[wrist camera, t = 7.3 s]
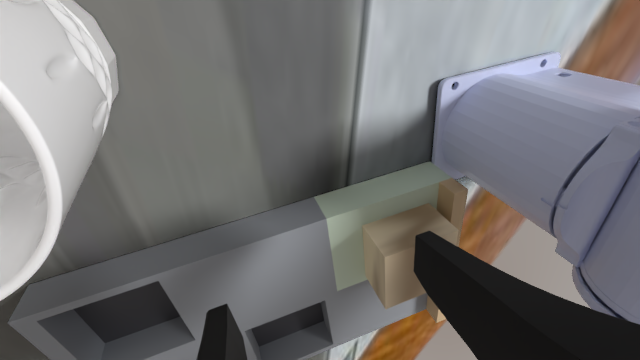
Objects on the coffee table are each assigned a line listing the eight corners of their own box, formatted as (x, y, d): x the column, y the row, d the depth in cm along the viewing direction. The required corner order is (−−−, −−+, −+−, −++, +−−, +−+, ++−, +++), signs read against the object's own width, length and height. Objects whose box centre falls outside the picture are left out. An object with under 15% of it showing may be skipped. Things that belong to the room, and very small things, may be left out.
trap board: (429, 161, 23) (468, 189, 20) (419, 284, 31) (446, 318, 28) (28, 284, 18) (-9, 350, 14) (138, 395, 25) (130, 455, 22)
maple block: (428, 202, 22) (458, 230, 19) (424, 253, 24) (450, 283, 22) (361, 225, 20) (384, 257, 18) (365, 276, 23) (385, 309, 21)
